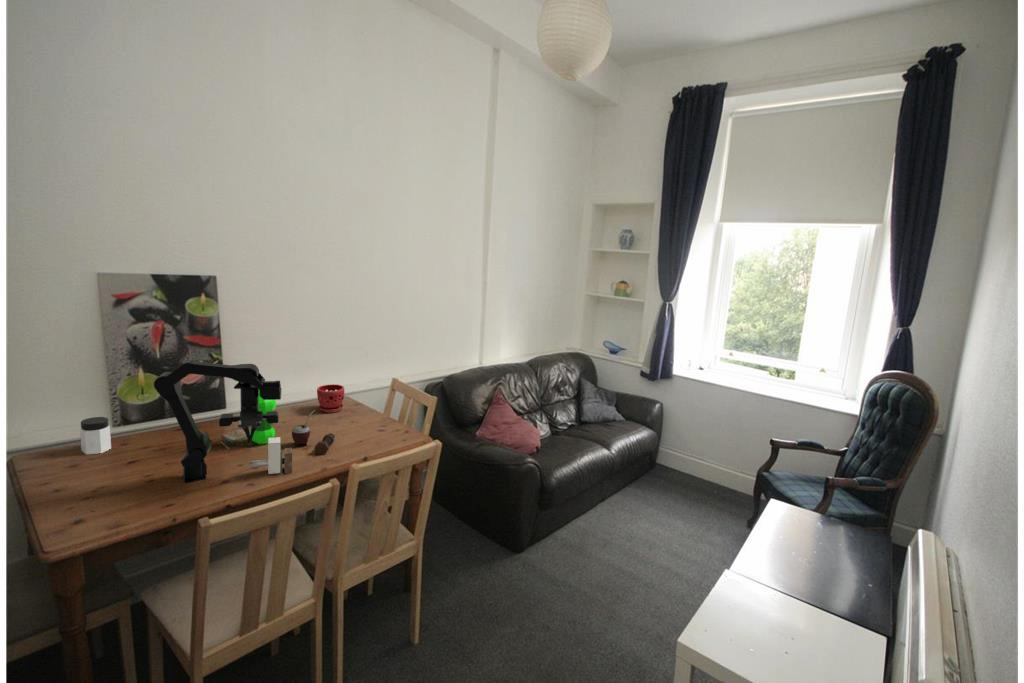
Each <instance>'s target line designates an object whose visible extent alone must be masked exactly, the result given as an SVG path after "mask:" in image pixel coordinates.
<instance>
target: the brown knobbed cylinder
mask: <svg viewBox="0 0 1024 683" xmlns="http://www.w3.org/2000/svg"><path fill="white" fill-rule="evenodd" d="M335 441H336V440H335V434H333V433H331V432H330V433H328V434H325V435H324V436H323V437H322V441H317V443H316V445H315V446H314V451H315V452H316V454H317V455H326V454H327V453H328V451H329V449H330V446H331V445H333V443H334V442H335Z"/></svg>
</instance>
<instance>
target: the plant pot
mask: <svg viewBox="0 0 1024 683" xmlns="http://www.w3.org/2000/svg"><path fill="white" fill-rule="evenodd" d="M316 393H317V395H316V396H317V401H318V403H319V407H318V408H319V410H320V411H321V412H324V413H337V412H340V411H342V409H343V408H344V405H343V402H344V398H345V387H344V386H343V385H341V384H325V385H320V386H318V387H317V389H316Z"/></svg>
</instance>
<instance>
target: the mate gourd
mask: <svg viewBox="0 0 1024 683" xmlns="http://www.w3.org/2000/svg"><path fill="white" fill-rule="evenodd" d="M315 411H316V410H315V409H314V410H313V411H312V412H310V413H309V414H308V416H307V420H306V421H305V423H304V424H298V425H296V426H294V427H293V428H292V431H291V437H292V440H293V444H294V445H295V446H294V448H296V447H297V448H299V447H308V441H309V438H310V435H311V433H310V432H311V431H310V428H309V427H308V426H307V424H308V422H309V419H310V417H311V415H312V414H313V413H315ZM301 445H302V446H301Z"/></svg>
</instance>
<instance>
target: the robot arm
mask: <svg viewBox="0 0 1024 683" xmlns="http://www.w3.org/2000/svg"><path fill="white" fill-rule="evenodd" d="M188 375H199V376H210V377H217V378H218V377H220V378H228V379H230V380H233V381H236V382H237V383H236V384H235V385H234V386H233V389H234V390H240V394H239V396H240V411H239V412H240V413H239V415H238V416H236V415H235V416H234V413H232V412H231V413H221V415H220V416H219V421H218V426H219V427H231V425H233V423H238V425H237V427H238V428H241V429H242V430H243V431H244V434H245V436H246V439H247V440H248V442H252V438H253V435H254V432H255V430H256V428H257V427H258V426H261V421H263V420H267V422H268V423H269V424H270V423H273V424H278V423H279V412H278V411H277V410H273V411H269V412H267V415H263V411H259V401H258V389H260V397H261V398H262V399H263V400H275V401H277V400H281V399H282V387H281V386H282V384H281V381H280V380H270V381H269V380H266V379H265V377H264V376H263V375H262V374H261V373H260V370H259V367H258V366H257V365H256V364H254V363H240V364H231V365H230V364H221V363H214V362H213V363H211V362H205V361H204V362H203V361H196V360H192V359H191V360H190V359H189V360H186V361H185V362H184V363H182V364H181V365H180V366H178V367H176V368H175V369H174V370H172V371H165V372H163V373H161V374H160V375H159V376H158V377H157V378H156V379H155V380H154V382H153V387H154V389H155V391H156V392H157V393H158V394H159V396H160V397H161V398H162V399H163V400H165V401H166V402H167V404H168V405H169V407H170V409H171V411H172V413H173V415H174V417H175V419H176V421H177V423H178V426H179V427H180V430H181V432H182V434H183V436H184V437H185V438H184V439H185V448H186V452H185V454H184V456H183V457H182V458H181V460H180V463H181V465H182V479H183V481H184V483H185V484H187V483H191V482H198V481H201V480H206V479H207V475H208V471H207V470H208V469H207V467H208V466H207V462H206V461H205V458H207V456H208V453H209V452H210V450H211V448H212V442H213V440H211V439H210V436H209V433H208V432H204V433H203V432H202V431H200V430H199V428H198V426H197V423H196V421H195V419H194V418H193V415H192V414H191V411H190V409H189V407H188V405H187V403H186V401H185V398H184V397H183V392H182V391H183V390H182V384H181V380H183V379H184V378H186V377H188ZM250 430H251V433H250Z"/></svg>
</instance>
